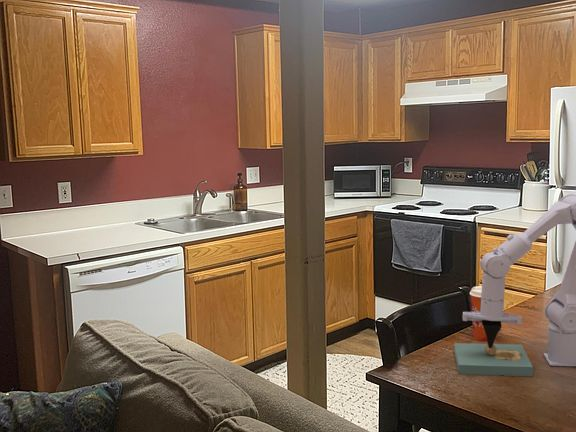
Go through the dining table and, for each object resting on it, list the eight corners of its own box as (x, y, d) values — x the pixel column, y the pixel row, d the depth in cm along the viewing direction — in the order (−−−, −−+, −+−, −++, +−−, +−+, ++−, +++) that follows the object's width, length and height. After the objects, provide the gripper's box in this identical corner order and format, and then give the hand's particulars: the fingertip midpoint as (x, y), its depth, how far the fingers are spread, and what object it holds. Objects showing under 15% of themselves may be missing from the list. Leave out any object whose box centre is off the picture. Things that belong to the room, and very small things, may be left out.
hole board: (521, 353, 170) (521, 344, 170) (532, 376, 155) (532, 367, 154) (454, 351, 174) (454, 343, 173) (458, 374, 158) (458, 364, 158)
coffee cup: (468, 341, 181) (467, 291, 179) (471, 332, 189) (470, 284, 187) (498, 343, 178) (498, 293, 176) (499, 334, 186) (500, 286, 184)
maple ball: (482, 350, 166) (493, 354, 165) (483, 354, 163) (494, 358, 162) (486, 340, 165) (497, 344, 164) (486, 344, 162) (498, 348, 162)
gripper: (519, 295, 164) (515, 344, 166) (462, 292, 167) (460, 340, 169) (523, 303, 157) (520, 354, 159) (465, 299, 160) (462, 349, 162)
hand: (489, 348), depth 163 cm, fingers closed, pressing on maple ball
